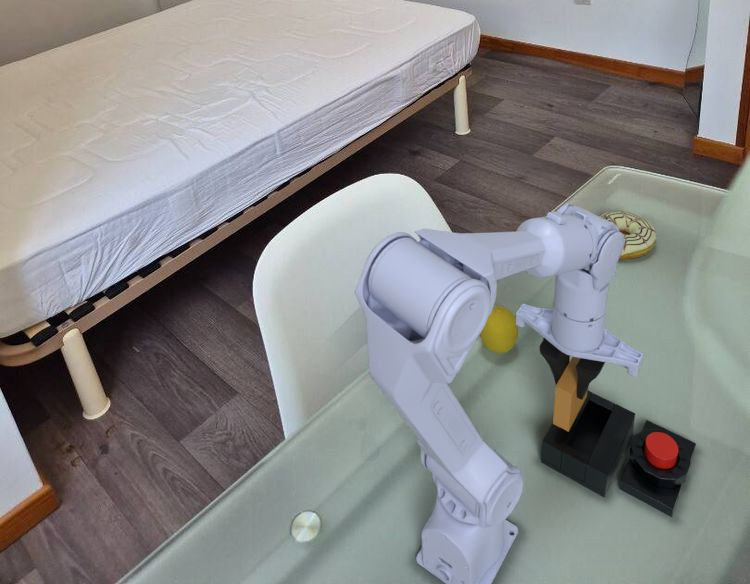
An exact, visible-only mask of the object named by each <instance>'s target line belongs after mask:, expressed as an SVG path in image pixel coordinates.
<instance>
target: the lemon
mask: <svg viewBox="0 0 750 584" xmlns="http://www.w3.org/2000/svg"><path fill="white" fill-rule="evenodd" d="M479 336H480V339H481V342H482V344H483V345H484V347H485V348H486V349H487V350H489V351H490V352H492V353H495V354H505V353H508V352H509V351H511V350H512V349H513V348H514V347H515V345H516V344H517V341H518V338H519V326H518V325H516V315H514V313H513V312H512V311H511V310H510V309H509V308H507V307H504V306H502V305H494V307H493V310H492V313H491V314H490V315H489V317H488V319H487V322H486V324H485V326H484V328H483V330H482V332H481V333H480V335H479Z"/></svg>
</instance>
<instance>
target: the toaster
mask: <svg viewBox="0 0 750 584" xmlns="http://www.w3.org/2000/svg"><path fill="white" fill-rule="evenodd" d="M635 418H636V413H635V412H634V411H632V410H630V409H627V408H625V407H623V406H621V405H619V404H618V403H615V402H612V401H610V400H608V399H606V398H604V397H602V396H600V395H598V394H595V393H593V392H592V391H589V389H588V390H587V397H586V399H585V401H584V403H583V405H582V407H581V409H580V411H579V412H578V414H577V416H576V418H575V420H574V422H573V424H572V426H571V428H570V430H569V432H568V431H566V430H564V429H562V428H560V427H558V426H556V425H554V424H553V422H552V423H551V425H550V426H549V428H548V430H547V432H546V433H545V435H544V437H543V439H542V440H541V453H540V454H541V455H540V463H541V464H543V465H545V466H547V467H548V468H550V469H552V470H554V471H555V472H558V473H559V474H560V475H562V476H564V477H567V478H568V479H570V480H572V481H574V482H575V483H577V484H579V485H581V486H582V487H584V488H586V489H588V490H589V491H592V492H593V493H595V494H597V495H599V496H601V497H602V498H606V496H607V494H608V491H609V489H610V486H611V485H612V482H613V480H614V478H615V475H616V473H617V470H618V469H619V466H620V464H621V461H622V459H623V457H624V454H625V452H626V451H627V448H628V446H629V443H630V441H631V438H632V436H633V432H634V427H635V426H634V425H635V420H636V419H635Z"/></svg>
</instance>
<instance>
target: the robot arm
mask: <svg viewBox="0 0 750 584" xmlns="http://www.w3.org/2000/svg"><path fill="white" fill-rule="evenodd" d="M599 216H600V215H597V214H595V213H593V212H591V211H589V210H587V209H585V208H583V207H581V206H578V205H575V204H572V203H570V202H565V203H563V205H561V206H560V207H559V209H557V210H556V211H555V210H554V211H547V214H546V216H540V217H532V218H529V219H526V220H525V221H523V222H522V223H521V224H520V225H518V227H517V229H516V231H496V232H494V231H493V232H469V233H464V232H463V233H462V232H453V231H445V230H440V229H439V230H438V229H431V228H421V229H418V230H415V231H414V233H415V234H416V236H418V238H419V240H418V241H417V239H416V238H415V237H414V236H412V235H411V234H410V233H407V232H404V231H397V232H393V233H392V234H389V235H387V236H385V237H384V238H383V239H381V241H379V242H378V243H377V244H376V245H375V246H374V247H373V248H372V249H371V251H370V252H369V254H368V255H367V256H368V257H367V258H366V260H365V262H364V266H363V268H362V270H361V274H360V276H359V279H358V282H357V285H356V287H355V289H354V294H355V296H356V300H357V301H358V303H359V306H360V308H361V311H362V312H363V315H364V318H365V326H366V329H365V330H366V343H367V345H366V347H367V361H368V363H367V364H368V373H369V375H370V378H371V381H372V382H373V383H374V384H375V386H376V387H377V388H378V389H379V391H380V392H381V393H382V394H383V395H384V396H385V399H386V400H387V401H388V402H389V403H390V405H391V406H392V407H393V408H394V410H395V411H396V412H397V413H398V416H400V417H401V419H402V420H403V421H404V422H405V424H406V425H407V426H408V428H409V429H410V430H411V432H412V433H413V434H414V435H415V436H416V438H417V441H416V444H417V446H418V447H419V449H420V463H421V466H422V467H423V468H424V469H425V470H426V471H429V472H430V473H431V475H432V477H431V478H432V481H433V483H434V484H435V486H436V499H435V503H434V507H433V509H432V512H431V514H430V516H429V517H428V520H427V521H426V523H425V524H424V526H423V528H422V531H421V535H420V536H421V548H420V550H419V551H418V553H417V554H416V557H415V560H416V563H417V564H418V565H419V566H421V567H422V568H423V569H425V570H426V571H428V572H429V573H431V574H432V575H433V576H434V577H436V578H437V579H439V580H440V581H441V582H443V583H444V584H493V582H494V580H495V578H496V576H497V574H498V572H499V570H500V568H501V567H502V565H503V563H504V561H505V559H506V557H507V556H508V553H509V551H510V549H511V548H512V546H513V544H514V542H515V540H516V538H517V536H518V534H519V527H518V526H517V525H515V524H514V523H512V522H511V521H509V520H507V518H509V516H510V515H511V513H512V512H513V511H514V510H515V508H516V506H517V504H518V503H519V502H520V499H521V496H522V494H523V492H524V491H523V490H524V486H525V482H524V473H523V471H522V469H520V467H518V466H516V465H515V466H514V464H512V463H511V461H508V460H507V459H506V458H505V457H504V456H503V455H502V454H500V452H498V451H497V450H496V449H495V448H493V447H492V446H491V445H490V444H489V443H488V442H486V441H485V440H484V439H483V437H482V436H481V434H480V433H479V431H478V430H477V428H476V426H475V425H474V423H473V421H472V420H471V419H470V417H469V415H468V414H467V412H466V410H465V409H464V408H463V406H462V404H461V403H460V401H459V400H458V398H457V396H456V395H455V393H454V392H453V390H452V389H451V387H450V386H449V384H452V382H453V381H454V379H455V377H456V375H457V374H458V372H459V371H460V370H461V368H462V366H464V365H463V364H464V363H465V361H466V359H467V357H468V356H469V354H470V352H471V350H472V349H473V347H474V345H475V343H476V341H477V339H478V338H479V336H480V333H481V332H482V330H483V328H484V326H485V324H486V322H487V319H488V317H489V315H490V314H491V313H492V310H493V307H494V306H495V303H496V298H497V290H498V282H497V281H499V280H502V279H505V278H508V277H511V276H513V275H516V274H518V273H522V272H526V273H527V274H528V275H530V276H533V277H534V278H535V277H536V278H543V279H545V278H549V277H554V290H553V302H552V303H553V305H552V309H549V308H544V307H538V306H533V305H529V304H526V303H524V302H523V303H521V305H520V306H519V308H518V309H517V310H516V312H515V318H516V325H518V327H521V328H525V327H526V326H528V327H529V328H532V329H533V330H534V331H535V332H537V333H538V334H539V335H540V336H541V337H543V338H542V341H541V343H540V345H539V353H540V355H541V356H542V357H543V359H545V361H546V362H547V364H548V366H549V368H550V370H551V373H552V376H553V379H554V383H555V386H556V385H557V383H558V381H559V379H560V378H561V376H562V374H563V372H564V371H565V369H566V367H567V365H568V364H569V362H570V360H571V358H572V357H577V358H580V360H579V362H578V364H577V365H576V370H577V374H578V385H577V391H576V394H577V398H579V399H581V400H582V399H583V398H584V396H585V394H586V392H587V390H588V391H589V387H590V384H591V383H592V382H593V381H594V380H595V379H597V377H598V376H599V375H600V373H601V372H602V370H603V368H604V366H605V364H606V363H608V364H613V365H618V366H620V367H623V368H625V369H626V372H627V375H630V376H632V377H634V378H638V376H639V373H640V372H641V369H642V366H643V362H644V353H643V352H641V351H639V350H637V349H635V348H633V347H632V346H630V345H628V344H627V343H626V342H624V341H623V340H622V339H621V338H619V337H618V336H617V335H615V334H614V333H613V332H611V331H609V329H607V328H606V327H605V324H606V323H605V322H606V314H607V313H606V312H607V306H608V305H607V304H608V297H609V289H610V288H609V287H610V282H611V281H612V280H613V279H614V277H615V274H616V273H617V265H618V262H619V260H620V259H619V258H620V256H621V253H622V251H623V248H624V244H625V238H624V237H623V234H622V233H621V232H619V228H618V227H617V225H616V224H614V223H611V222H609V221H607V220H605V219H603V218H601V217H599Z"/></svg>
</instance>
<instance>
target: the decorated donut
mask: <svg viewBox="0 0 750 584" xmlns="http://www.w3.org/2000/svg"><path fill="white" fill-rule="evenodd" d="M598 216H599V217H601V218H603V219H605V220H607V221H609V222H611V223H614V224H616V225H617V227H618V228H619V232H621V233H622V234H623V237H624V238H625V244H624V248H623V251H622V253H621V256H620V258H619V260H632V259H635V258H640V257H643V256H646V255H647V254H649V253H650V251H652V249H653V248H654V247H655V245H656V243H657V231H656V228H655V227H654V225H653V224H652V223H651V222H650V221H649V220H648V219H645V218H644V217H642V216H640V215H638V214H636V213H634V212H630V211H625V210H614V211H605V212H604V213H602V214H601V215H598Z"/></svg>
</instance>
